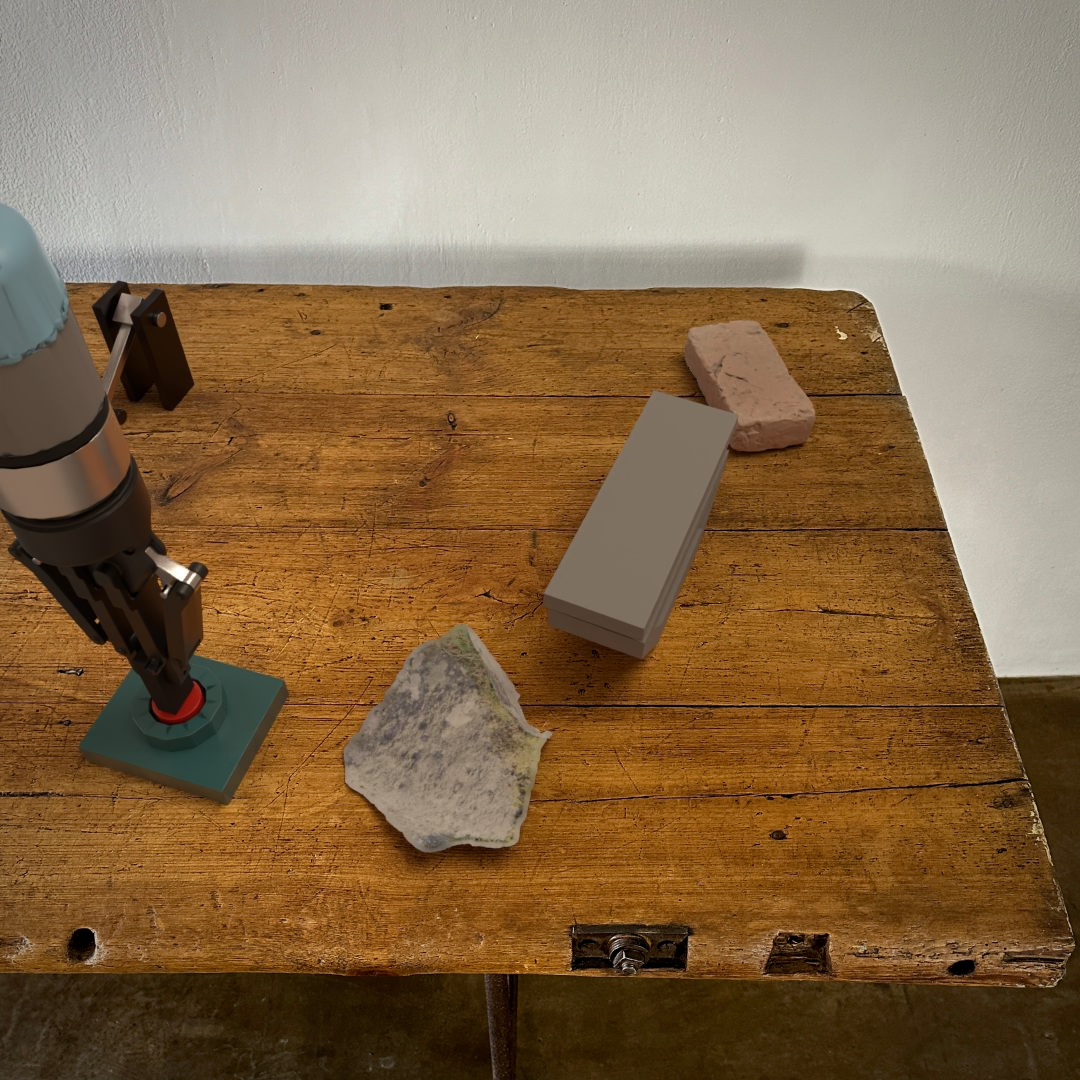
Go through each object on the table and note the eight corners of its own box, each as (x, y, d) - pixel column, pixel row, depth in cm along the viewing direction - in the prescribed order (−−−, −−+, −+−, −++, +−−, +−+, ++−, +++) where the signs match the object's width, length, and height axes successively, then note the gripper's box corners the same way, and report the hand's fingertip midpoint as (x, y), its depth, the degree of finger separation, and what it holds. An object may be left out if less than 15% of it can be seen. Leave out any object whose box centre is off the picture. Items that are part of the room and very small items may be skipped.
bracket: (173, 449, 96) (135, 345, 86) (93, 430, 98) (47, 326, 88) (232, 374, 104) (203, 271, 94) (158, 357, 105) (121, 254, 95)
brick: (679, 356, 107) (684, 321, 103) (750, 346, 108) (758, 311, 105) (732, 461, 97) (740, 426, 93) (810, 448, 98) (821, 413, 94)
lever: (127, 428, 91) (112, 420, 89) (80, 417, 92) (65, 409, 90) (168, 310, 93) (155, 299, 91) (122, 300, 94) (108, 289, 92)
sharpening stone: (641, 475, 95) (653, 390, 87) (718, 499, 93) (738, 414, 85) (540, 673, 80) (543, 593, 72) (630, 707, 78) (644, 628, 70)
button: (148, 724, 73) (142, 712, 72) (174, 685, 76) (167, 672, 74) (191, 736, 73) (185, 724, 71) (215, 697, 75) (210, 685, 74)
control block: (86, 761, 74) (68, 735, 71) (157, 656, 80) (143, 628, 77) (228, 805, 72) (216, 780, 69) (289, 694, 78) (280, 667, 75)
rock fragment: (463, 648, 82) (461, 609, 78) (605, 772, 74) (610, 735, 70) (320, 758, 74) (309, 721, 71) (460, 907, 67) (457, 875, 63)
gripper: (202, 456, 56) (278, 679, 74) (7, 409, 58) (127, 636, 76) (130, 551, 51) (230, 764, 69) (-79, 496, 53) (70, 716, 71)
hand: (176, 697), depth 73 cm, fingers closed
